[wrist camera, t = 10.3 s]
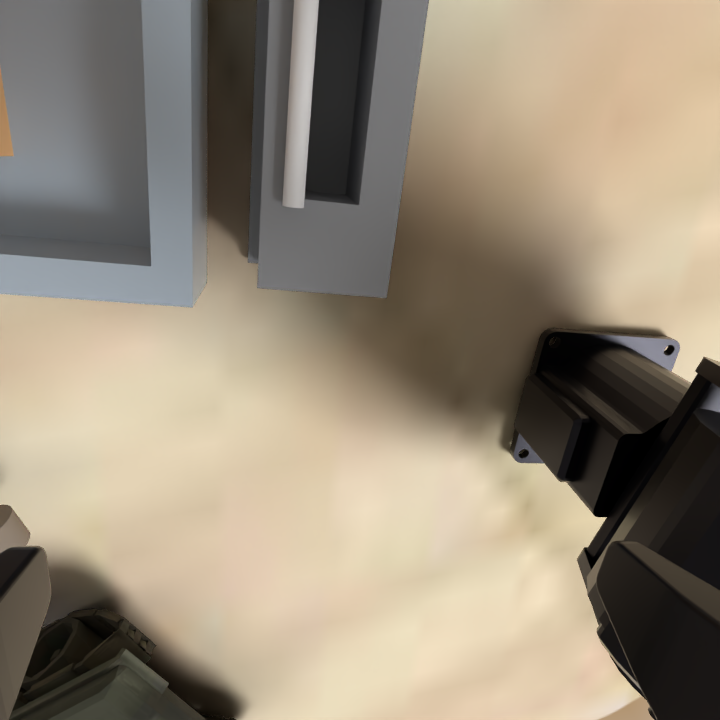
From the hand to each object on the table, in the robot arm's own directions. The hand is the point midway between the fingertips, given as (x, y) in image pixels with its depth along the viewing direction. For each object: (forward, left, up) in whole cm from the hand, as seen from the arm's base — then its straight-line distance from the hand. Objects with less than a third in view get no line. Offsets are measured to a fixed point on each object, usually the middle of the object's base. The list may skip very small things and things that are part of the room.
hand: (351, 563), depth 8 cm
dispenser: (0, -8, -13) cm, 15 cm away
